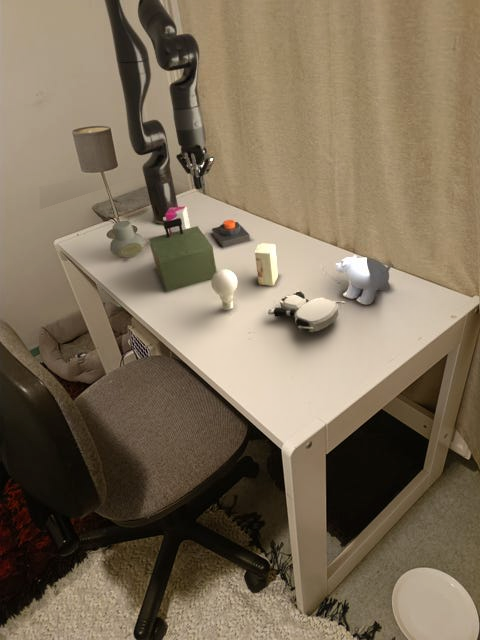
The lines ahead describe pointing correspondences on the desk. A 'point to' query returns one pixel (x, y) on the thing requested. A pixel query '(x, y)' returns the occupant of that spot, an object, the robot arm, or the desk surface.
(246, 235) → the control block
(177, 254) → the green handled lid
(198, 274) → the green box
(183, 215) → the supplement box
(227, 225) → the release button
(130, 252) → the air freshener
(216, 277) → the lightbulb
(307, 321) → the robot toy
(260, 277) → the cream cardboard box
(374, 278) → the white animal-shaped figure
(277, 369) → the desk surface
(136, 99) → the robot arm
